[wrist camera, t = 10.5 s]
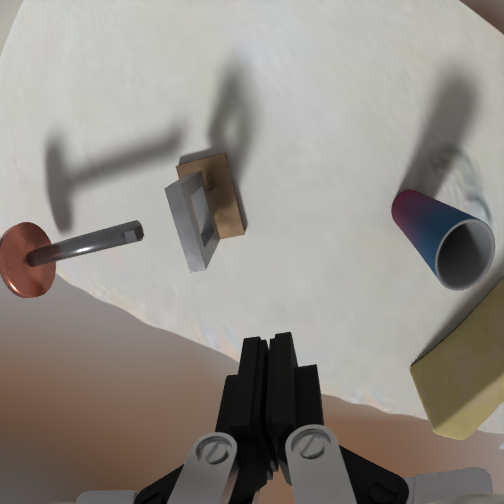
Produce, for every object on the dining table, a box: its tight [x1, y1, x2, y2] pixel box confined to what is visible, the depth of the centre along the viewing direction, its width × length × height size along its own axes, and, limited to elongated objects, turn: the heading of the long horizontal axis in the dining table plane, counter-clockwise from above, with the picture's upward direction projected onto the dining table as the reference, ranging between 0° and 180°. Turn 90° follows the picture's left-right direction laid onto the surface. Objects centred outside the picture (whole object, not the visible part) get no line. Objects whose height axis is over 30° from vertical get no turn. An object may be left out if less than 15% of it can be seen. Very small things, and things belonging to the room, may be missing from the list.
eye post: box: [164, 153, 245, 272], centre depth 33 cm, size 10×6×12 cm, turn 13°
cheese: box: [410, 278, 504, 440], centre depth 37 cm, size 22×10×15 cm, turn 151°
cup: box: [391, 190, 495, 290], centre depth 30 cm, size 7×7×15 cm
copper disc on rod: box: [0, 220, 144, 298], centre depth 34 cm, size 10×21×10 cm, turn 103°
